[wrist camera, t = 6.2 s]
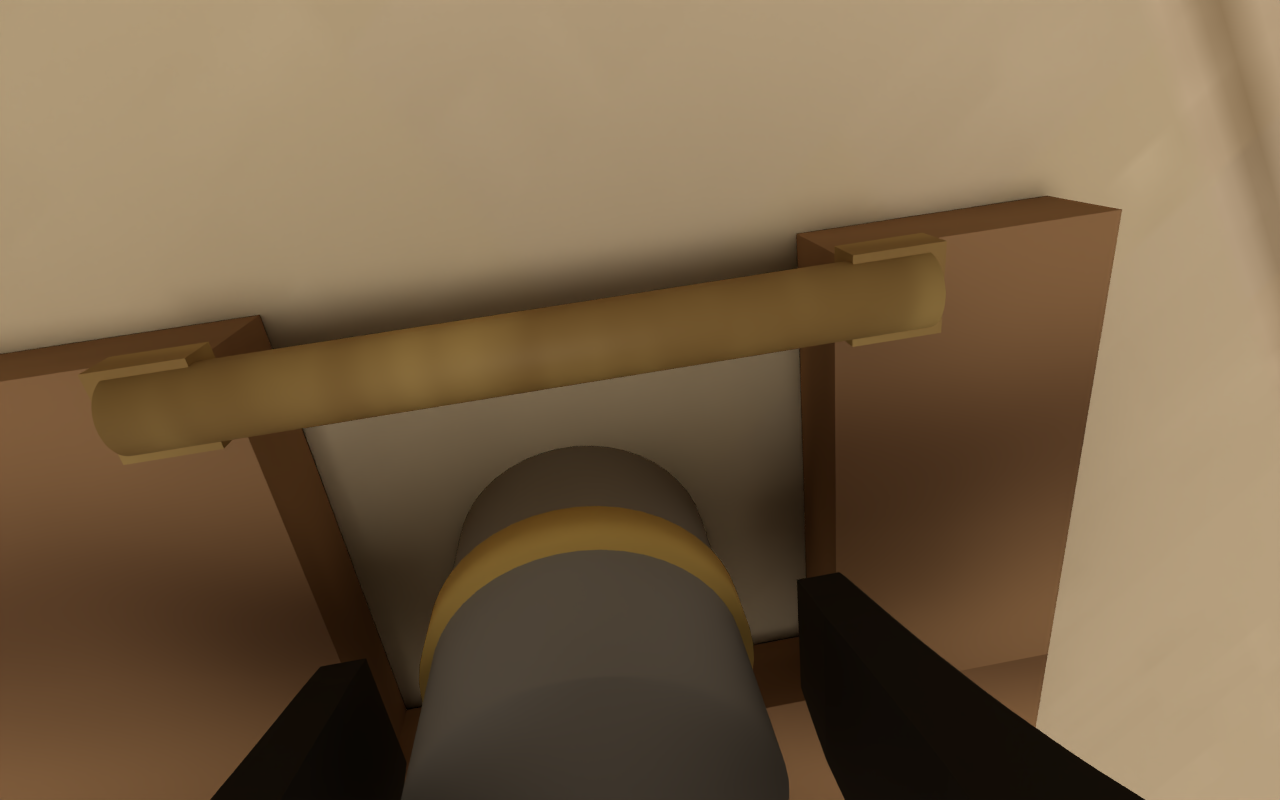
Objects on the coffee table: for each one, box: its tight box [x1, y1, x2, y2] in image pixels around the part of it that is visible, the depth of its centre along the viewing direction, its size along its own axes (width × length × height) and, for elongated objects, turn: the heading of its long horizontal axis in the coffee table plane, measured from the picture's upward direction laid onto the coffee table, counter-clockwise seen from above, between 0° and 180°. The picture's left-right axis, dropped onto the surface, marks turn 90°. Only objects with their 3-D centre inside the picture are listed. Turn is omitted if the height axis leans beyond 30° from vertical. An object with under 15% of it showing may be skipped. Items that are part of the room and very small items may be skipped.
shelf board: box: [0, 196, 1122, 800], centre depth 12 cm, size 16×22×2 cm
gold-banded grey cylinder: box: [401, 446, 789, 800], centre depth 10 cm, size 5×5×5 cm
